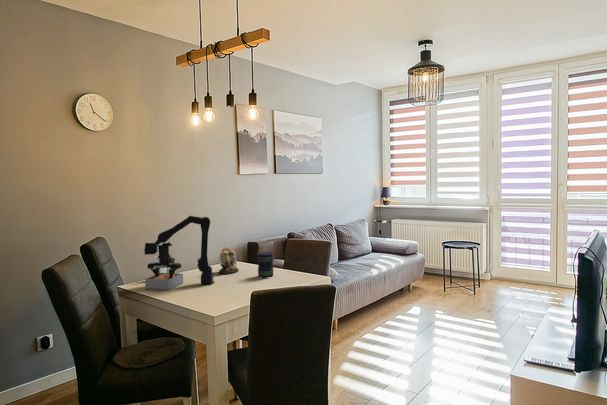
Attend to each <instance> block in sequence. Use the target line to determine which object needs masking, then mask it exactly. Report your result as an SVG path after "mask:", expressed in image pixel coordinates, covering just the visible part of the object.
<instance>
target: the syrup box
mask: <svg viewBox="0 0 607 405" xmlns="http://www.w3.org/2000/svg"><path fill="white" fill-rule="evenodd" d="M153 262H158V263H159V258H158V256H154V257H153ZM162 266H163V265H162ZM168 268H169V267H160V270H159V273H169V269H168Z"/></svg>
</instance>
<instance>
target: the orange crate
mask: <svg viewBox="0 0 607 405" xmlns="http://www.w3.org/2000/svg"><path fill="white" fill-rule="evenodd" d="M173 277H175V275H173ZM154 279H167V280H168V279H170V277H169V274H163V275H161V276H158V277H156V278H154Z"/></svg>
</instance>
